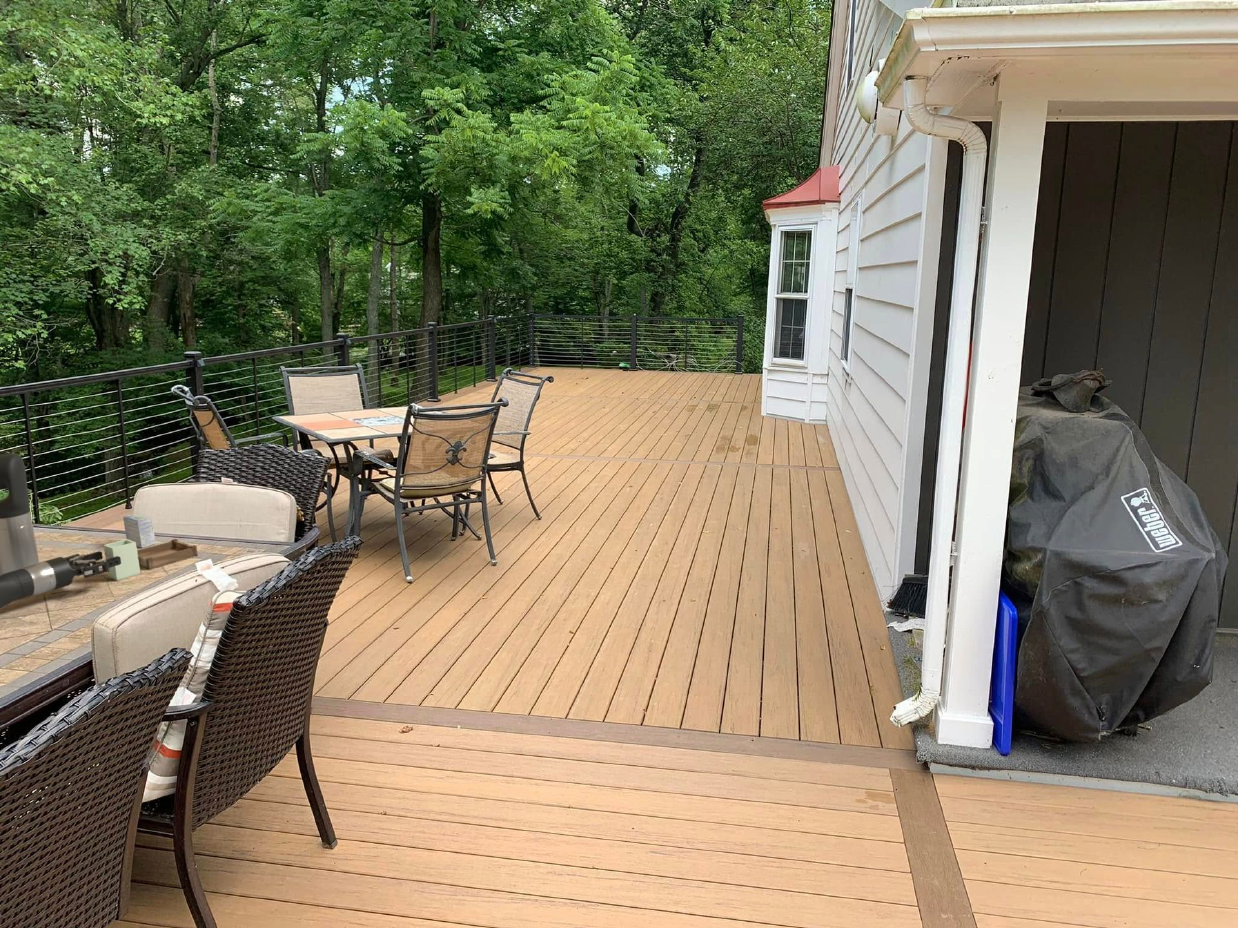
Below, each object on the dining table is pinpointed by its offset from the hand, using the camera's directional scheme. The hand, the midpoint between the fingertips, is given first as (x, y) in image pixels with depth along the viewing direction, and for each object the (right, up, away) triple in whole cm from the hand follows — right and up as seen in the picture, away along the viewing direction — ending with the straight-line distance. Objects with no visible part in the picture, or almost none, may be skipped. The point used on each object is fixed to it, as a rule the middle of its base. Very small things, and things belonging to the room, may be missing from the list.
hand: (110, 557), depth 235 cm
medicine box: (-8, 0, +30) cm, 31 cm away
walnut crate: (+5, -2, +17) cm, 18 cm away
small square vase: (+2, -5, +4) cm, 7 cm away
